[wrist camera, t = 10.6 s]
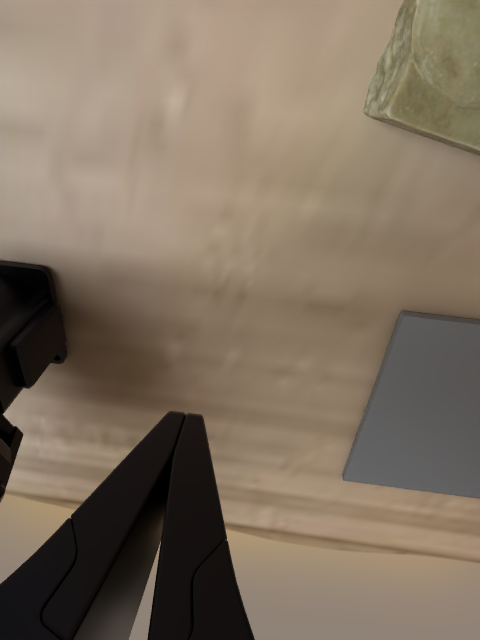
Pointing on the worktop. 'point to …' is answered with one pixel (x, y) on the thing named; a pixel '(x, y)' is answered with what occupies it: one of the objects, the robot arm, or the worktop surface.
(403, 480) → the rubber mat
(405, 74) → the decorative tile
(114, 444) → the worktop surface
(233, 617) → the robot arm
